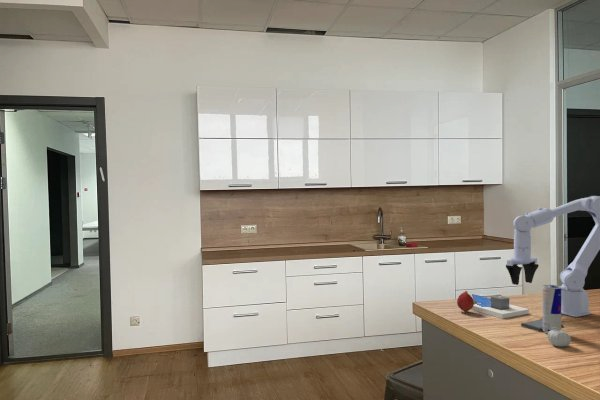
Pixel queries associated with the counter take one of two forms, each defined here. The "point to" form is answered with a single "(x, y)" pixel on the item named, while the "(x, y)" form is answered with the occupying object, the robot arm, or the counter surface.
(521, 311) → the white square board
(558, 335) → the garlic
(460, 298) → the onion
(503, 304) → the block
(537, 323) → the phone
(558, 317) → the beverage can
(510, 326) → the counter surface
